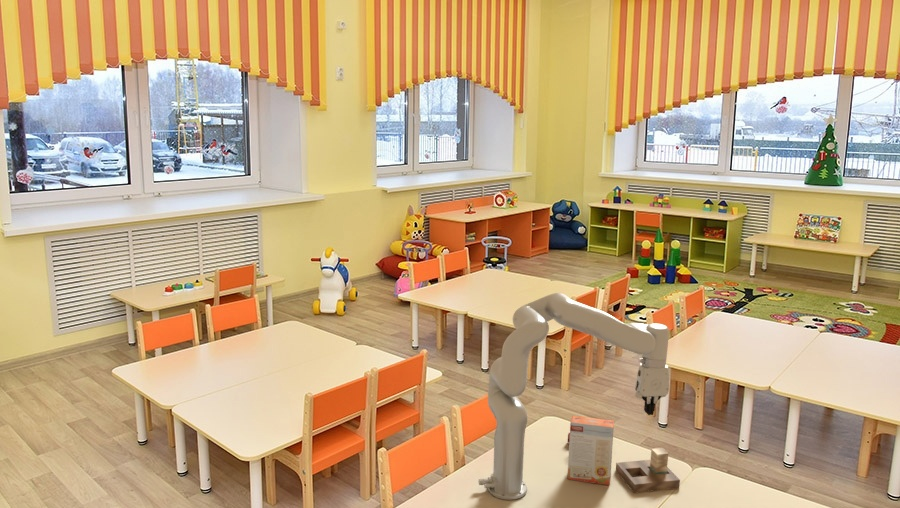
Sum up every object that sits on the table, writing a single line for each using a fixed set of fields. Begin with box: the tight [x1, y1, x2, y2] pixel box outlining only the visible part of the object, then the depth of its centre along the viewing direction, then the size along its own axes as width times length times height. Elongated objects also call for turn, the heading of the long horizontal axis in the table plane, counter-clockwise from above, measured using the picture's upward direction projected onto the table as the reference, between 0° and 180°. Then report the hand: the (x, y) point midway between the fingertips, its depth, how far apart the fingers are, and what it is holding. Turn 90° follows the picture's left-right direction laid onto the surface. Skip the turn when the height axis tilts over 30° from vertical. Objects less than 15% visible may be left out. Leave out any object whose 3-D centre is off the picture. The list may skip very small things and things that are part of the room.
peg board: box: [615, 459, 681, 494], centre depth 237 cm, size 16×14×3 cm
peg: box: [650, 447, 669, 475], centre depth 237 cm, size 4×4×10 cm
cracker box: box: [567, 415, 615, 486], centre depth 235 cm, size 14×6×21 cm, turn 74°
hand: (649, 413), depth 235 cm, fingers closed
